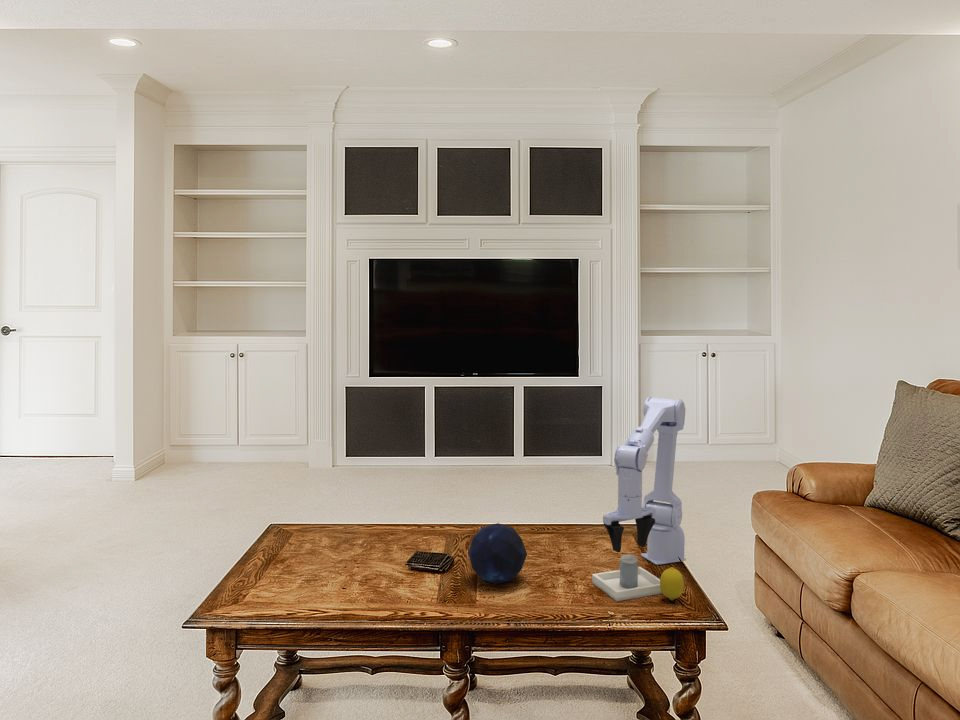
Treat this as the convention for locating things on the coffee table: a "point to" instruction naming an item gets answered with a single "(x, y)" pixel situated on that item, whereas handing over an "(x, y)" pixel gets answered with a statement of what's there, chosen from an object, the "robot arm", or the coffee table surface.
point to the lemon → (671, 583)
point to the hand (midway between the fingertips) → (629, 548)
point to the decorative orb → (497, 553)
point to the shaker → (628, 571)
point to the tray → (612, 587)
